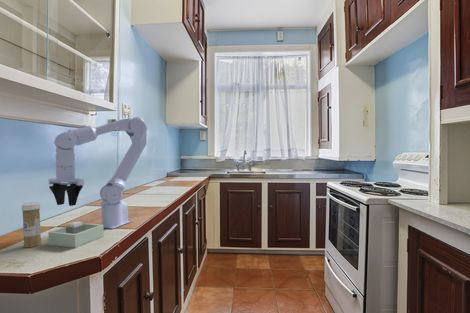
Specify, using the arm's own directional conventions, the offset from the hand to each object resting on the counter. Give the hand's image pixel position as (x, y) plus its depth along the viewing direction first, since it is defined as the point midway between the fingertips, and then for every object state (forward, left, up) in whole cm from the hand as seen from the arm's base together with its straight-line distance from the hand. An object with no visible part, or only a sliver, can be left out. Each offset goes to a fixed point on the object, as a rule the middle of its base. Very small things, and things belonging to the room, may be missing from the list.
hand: (66, 205), depth 95 cm
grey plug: (+5, +10, -10) cm, 15 cm away
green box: (+5, +10, -10) cm, 15 cm away
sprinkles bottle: (+12, -1, -11) cm, 16 cm away
